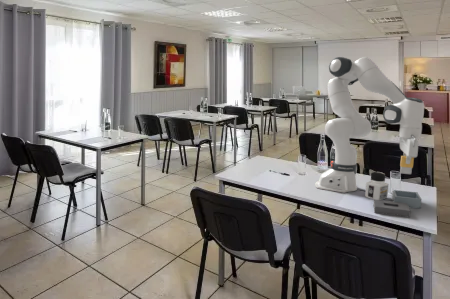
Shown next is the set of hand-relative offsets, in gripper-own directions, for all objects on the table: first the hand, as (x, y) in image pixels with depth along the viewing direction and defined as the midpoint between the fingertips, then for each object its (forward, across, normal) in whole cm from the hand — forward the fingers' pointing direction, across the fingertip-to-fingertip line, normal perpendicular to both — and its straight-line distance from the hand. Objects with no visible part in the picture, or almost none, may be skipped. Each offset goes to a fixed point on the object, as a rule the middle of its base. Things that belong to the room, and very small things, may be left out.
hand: (406, 162), depth 158 cm
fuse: (+5, 0, 0) cm, 5 cm away
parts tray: (+21, +3, -2) cm, 21 cm away
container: (+21, +8, +10) cm, 25 cm away
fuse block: (+21, -10, +6) cm, 24 cm away
